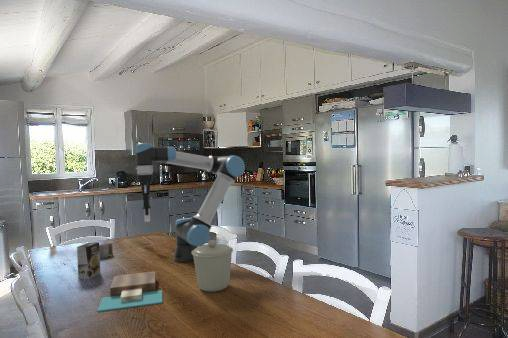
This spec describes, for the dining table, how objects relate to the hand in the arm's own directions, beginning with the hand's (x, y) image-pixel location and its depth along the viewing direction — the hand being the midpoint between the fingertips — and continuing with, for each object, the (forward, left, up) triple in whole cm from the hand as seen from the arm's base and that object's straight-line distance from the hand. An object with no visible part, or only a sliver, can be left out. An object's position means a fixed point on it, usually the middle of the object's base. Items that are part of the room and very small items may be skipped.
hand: (147, 221), depth 176 cm
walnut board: (+6, +18, -26) cm, 33 cm away
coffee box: (+29, -7, -27) cm, 40 cm away
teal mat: (+6, +33, -26) cm, 43 cm away
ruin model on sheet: (+28, -42, -27) cm, 57 cm away
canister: (-28, +30, -27) cm, 49 cm away
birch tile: (+6, +30, -26) cm, 40 cm away
